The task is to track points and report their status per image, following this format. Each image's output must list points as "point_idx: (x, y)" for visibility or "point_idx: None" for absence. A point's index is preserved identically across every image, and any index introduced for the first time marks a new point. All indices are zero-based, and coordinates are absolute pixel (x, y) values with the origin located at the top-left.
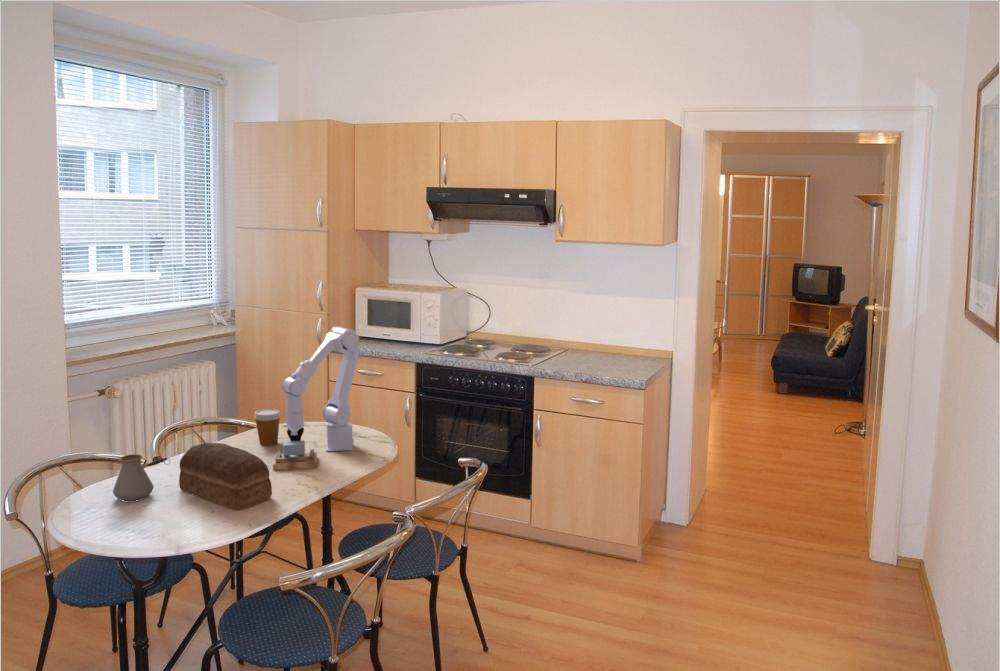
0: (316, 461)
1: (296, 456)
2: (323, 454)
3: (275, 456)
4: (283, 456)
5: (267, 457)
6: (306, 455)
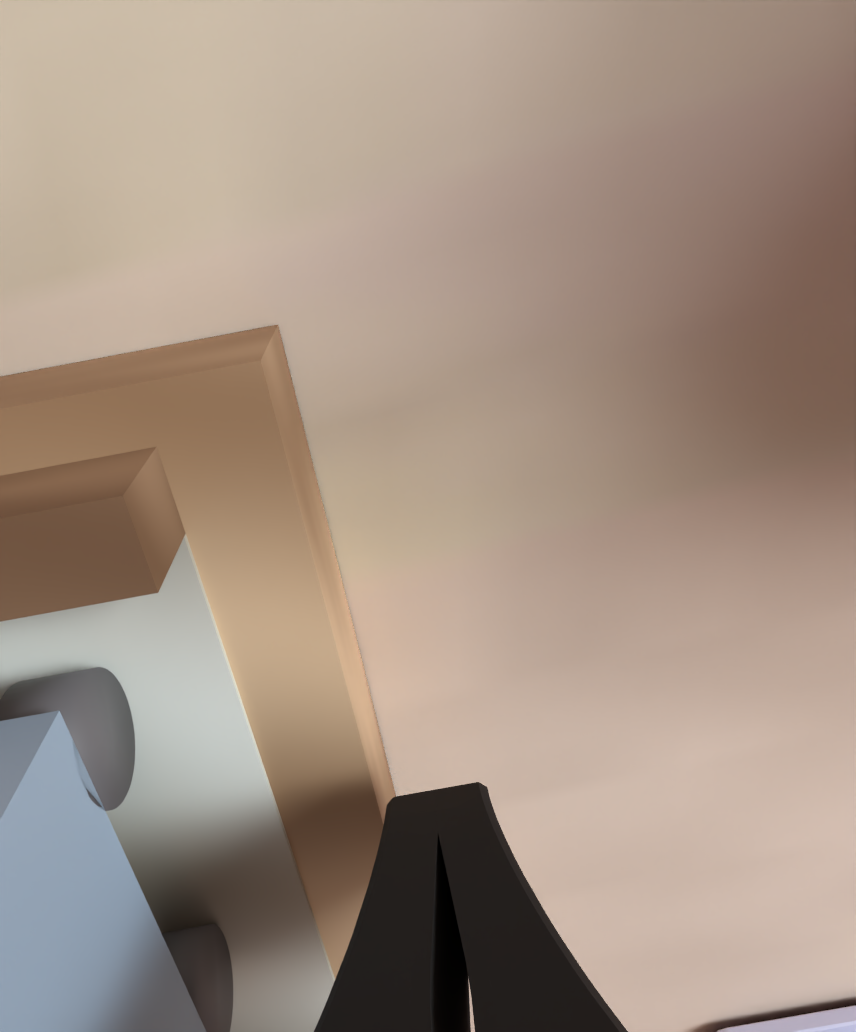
0: None
1: None
2: None
3: (38, 416)
4: (62, 622)
5: (450, 33)
6: None
